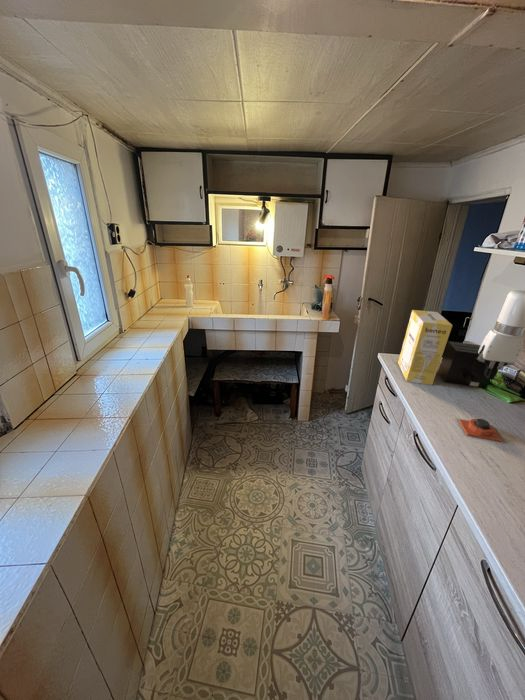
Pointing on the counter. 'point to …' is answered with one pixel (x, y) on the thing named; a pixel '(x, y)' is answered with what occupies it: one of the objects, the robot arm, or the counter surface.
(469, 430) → the switch block
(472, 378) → the press handle
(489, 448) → the counter surface
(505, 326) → the robot arm
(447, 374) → the toaster
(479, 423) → the button
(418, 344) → the pasta box
